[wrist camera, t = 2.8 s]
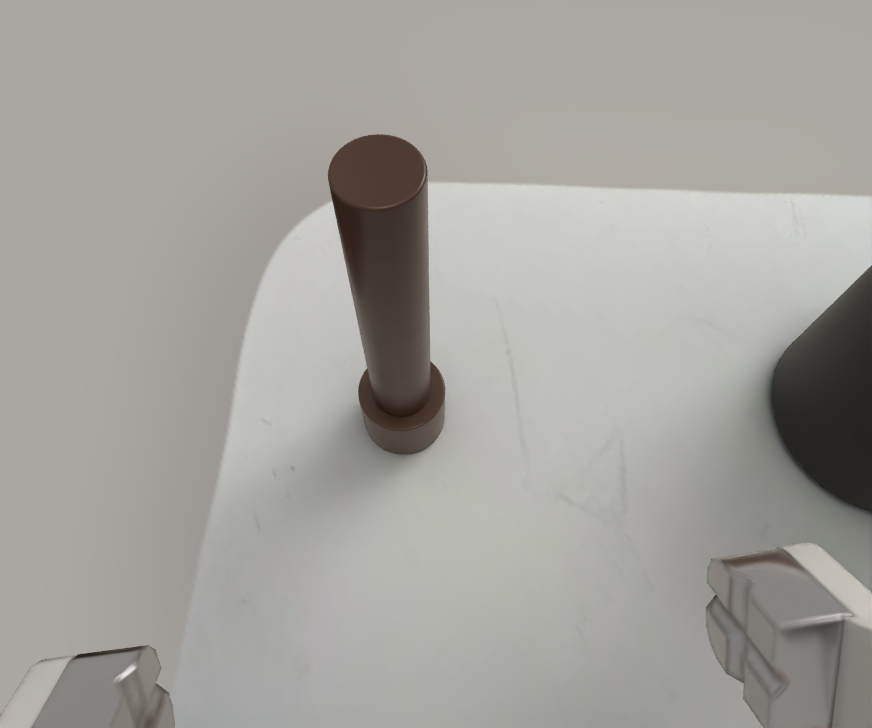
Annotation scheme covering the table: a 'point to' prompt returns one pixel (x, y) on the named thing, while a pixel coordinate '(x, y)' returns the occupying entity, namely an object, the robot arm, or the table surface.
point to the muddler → (390, 286)
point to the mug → (831, 396)
